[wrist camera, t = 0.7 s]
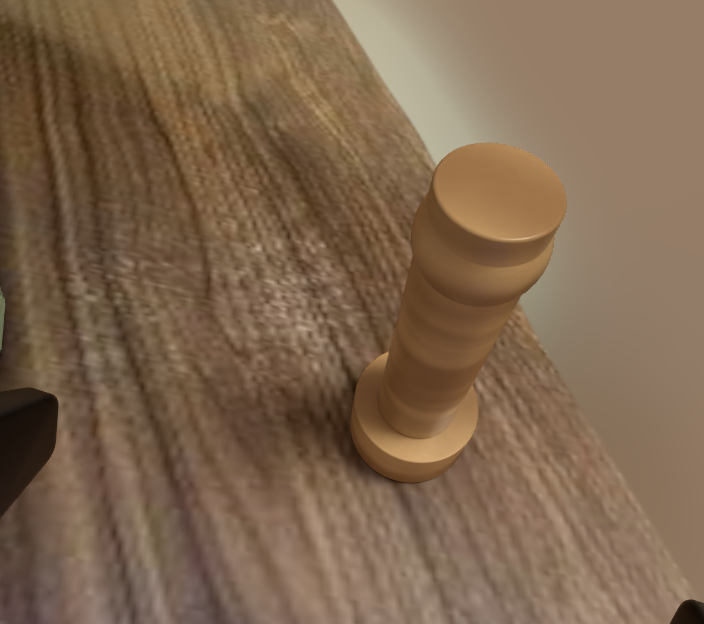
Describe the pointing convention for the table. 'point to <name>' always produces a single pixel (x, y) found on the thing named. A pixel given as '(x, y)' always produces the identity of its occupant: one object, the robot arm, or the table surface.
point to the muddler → (455, 305)
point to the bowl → (1, 316)
